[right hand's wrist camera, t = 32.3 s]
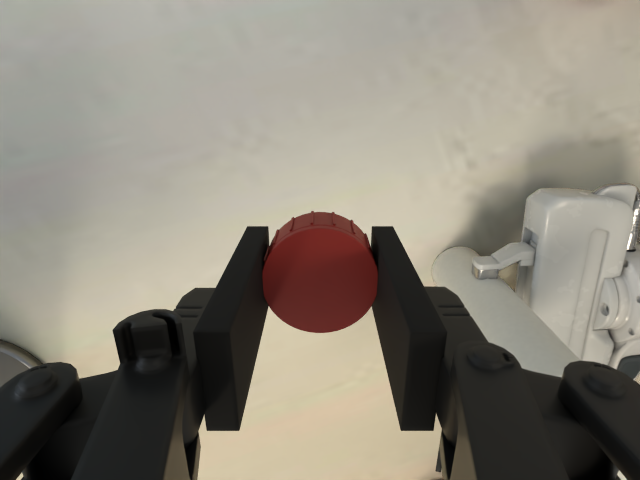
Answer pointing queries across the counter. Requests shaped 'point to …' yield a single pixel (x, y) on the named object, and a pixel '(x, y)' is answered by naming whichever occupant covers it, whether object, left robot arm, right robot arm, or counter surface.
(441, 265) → the bottle
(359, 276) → the cap
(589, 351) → the left robot arm
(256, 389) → the counter surface
